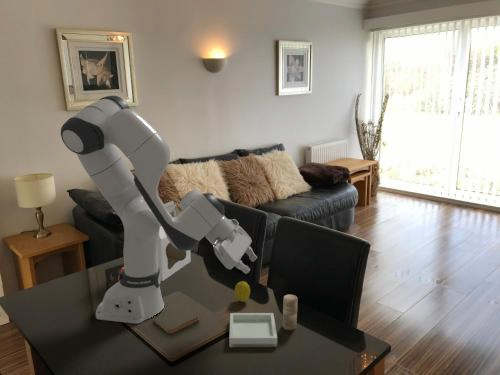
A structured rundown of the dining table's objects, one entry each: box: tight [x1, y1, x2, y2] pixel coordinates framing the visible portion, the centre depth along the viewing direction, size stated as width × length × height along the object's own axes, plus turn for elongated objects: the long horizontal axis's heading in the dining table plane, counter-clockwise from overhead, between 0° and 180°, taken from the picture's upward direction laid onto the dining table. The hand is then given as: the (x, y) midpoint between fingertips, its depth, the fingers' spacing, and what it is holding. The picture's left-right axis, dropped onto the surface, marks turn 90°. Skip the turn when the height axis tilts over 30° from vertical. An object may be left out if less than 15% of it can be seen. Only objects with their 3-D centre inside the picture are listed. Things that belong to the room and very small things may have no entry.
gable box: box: [158, 200, 192, 282], centre depth 170 cm, size 22×13×28 cm, turn 157°
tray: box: [228, 312, 278, 348], centre depth 126 cm, size 14×14×3 cm
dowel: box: [282, 294, 299, 331], centre depth 130 cm, size 4×4×10 cm
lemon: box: [234, 280, 251, 303], centre depth 145 cm, size 6×6×8 cm
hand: (252, 265), depth 127 cm, fingers open, 8 cm apart
